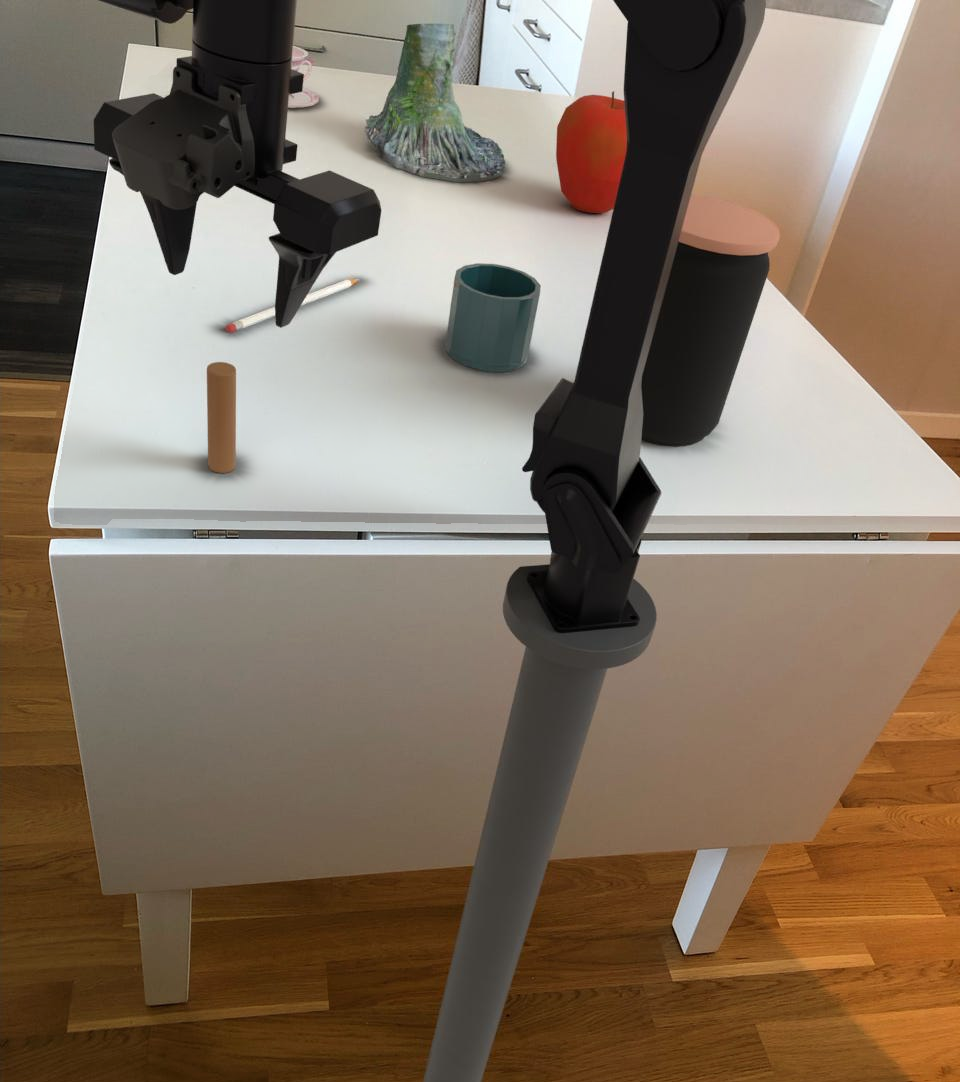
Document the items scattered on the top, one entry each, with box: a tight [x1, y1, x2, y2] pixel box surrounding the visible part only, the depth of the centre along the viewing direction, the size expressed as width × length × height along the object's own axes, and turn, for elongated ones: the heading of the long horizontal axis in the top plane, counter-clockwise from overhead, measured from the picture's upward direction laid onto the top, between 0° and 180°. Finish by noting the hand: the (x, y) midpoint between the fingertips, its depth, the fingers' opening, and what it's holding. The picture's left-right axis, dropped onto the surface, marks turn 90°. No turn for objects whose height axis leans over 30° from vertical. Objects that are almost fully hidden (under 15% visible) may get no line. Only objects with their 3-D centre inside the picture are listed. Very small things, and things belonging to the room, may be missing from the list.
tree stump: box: [364, 22, 506, 183], centre depth 141 cm, size 18×20×18 cm
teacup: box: [288, 45, 320, 109], centre depth 153 cm, size 12×12×6 cm
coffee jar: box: [641, 194, 781, 447], centre depth 91 cm, size 11×11×18 cm
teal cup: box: [445, 262, 542, 373], centre depth 99 cm, size 8×8×7 cm
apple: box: [555, 90, 627, 214], centre depth 133 cm, size 12×12×14 cm
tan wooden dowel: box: [206, 361, 237, 474], centre depth 78 cm, size 2×2×8 cm
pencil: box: [225, 278, 360, 334], centre depth 103 cm, size 1×19×1 cm, turn 146°
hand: (228, 298), depth 73 cm, fingers open, 9 cm apart
